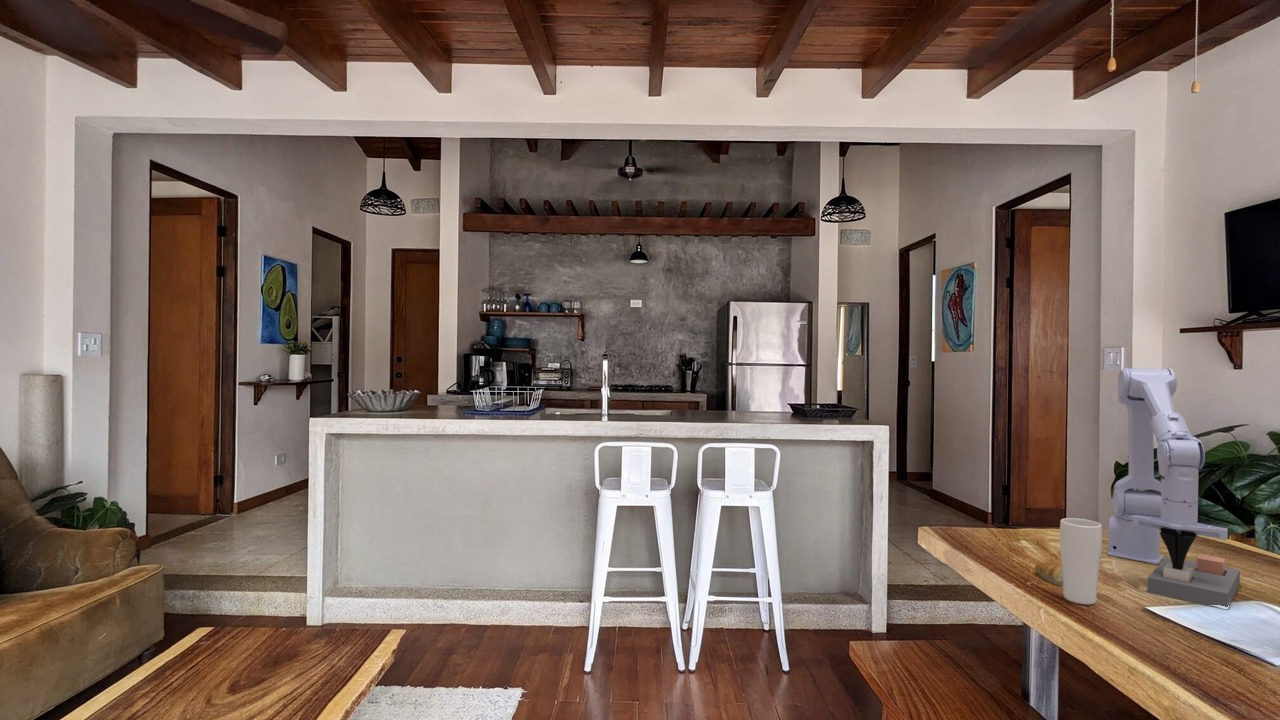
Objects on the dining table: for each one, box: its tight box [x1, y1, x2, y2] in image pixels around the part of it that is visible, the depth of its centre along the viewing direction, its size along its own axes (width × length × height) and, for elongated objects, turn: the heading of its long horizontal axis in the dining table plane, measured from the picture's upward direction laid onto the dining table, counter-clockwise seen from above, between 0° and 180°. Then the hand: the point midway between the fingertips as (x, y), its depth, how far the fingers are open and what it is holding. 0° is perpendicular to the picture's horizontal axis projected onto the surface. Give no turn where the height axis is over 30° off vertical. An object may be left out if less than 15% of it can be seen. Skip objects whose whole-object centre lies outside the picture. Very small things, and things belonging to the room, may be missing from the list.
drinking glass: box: [1059, 517, 1103, 605], centre depth 129 cm, size 7×7×15 cm
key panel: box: [1146, 556, 1241, 607], centre depth 136 cm, size 12×20×3 cm, turn 134°
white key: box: [1163, 564, 1192, 582], centre depth 134 cm, size 4×4×3 cm
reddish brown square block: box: [1196, 553, 1226, 576], centre depth 138 cm, size 4×4×3 cm
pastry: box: [1034, 562, 1063, 587], centre depth 141 cm, size 9×7×4 cm
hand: (1177, 568), depth 134 cm, fingers closed, pressing on white key
